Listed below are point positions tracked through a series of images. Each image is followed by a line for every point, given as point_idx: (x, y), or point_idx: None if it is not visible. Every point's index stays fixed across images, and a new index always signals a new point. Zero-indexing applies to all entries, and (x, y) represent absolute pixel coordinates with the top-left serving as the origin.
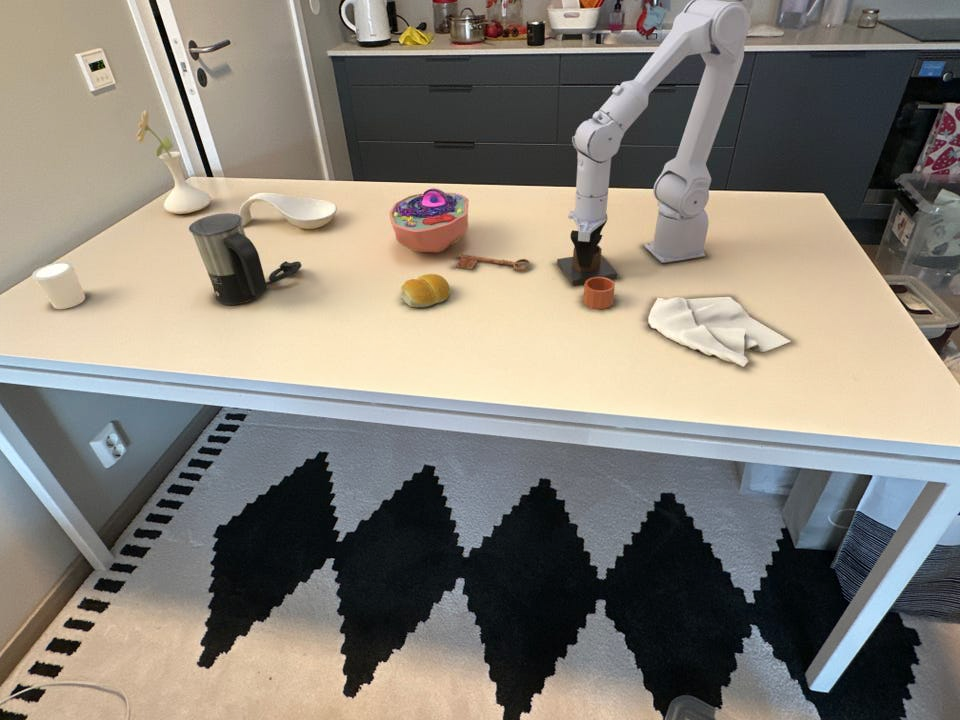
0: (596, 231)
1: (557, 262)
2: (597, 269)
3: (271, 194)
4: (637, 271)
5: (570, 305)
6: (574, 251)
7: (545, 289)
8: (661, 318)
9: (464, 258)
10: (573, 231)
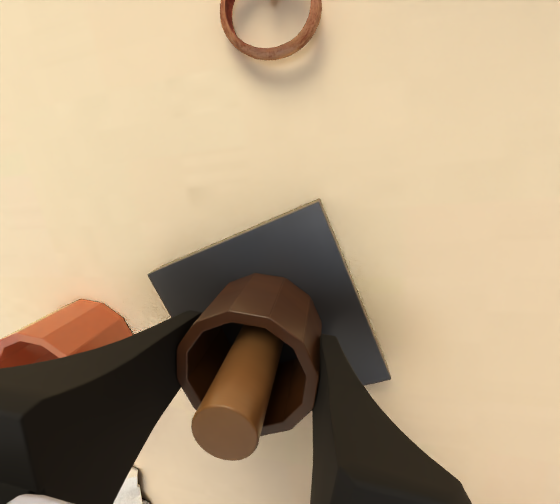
0: (312, 497)
1: (311, 202)
2: None
3: None
4: (290, 457)
5: (51, 261)
6: (214, 314)
7: (116, 169)
8: None
9: None
10: (3, 427)
